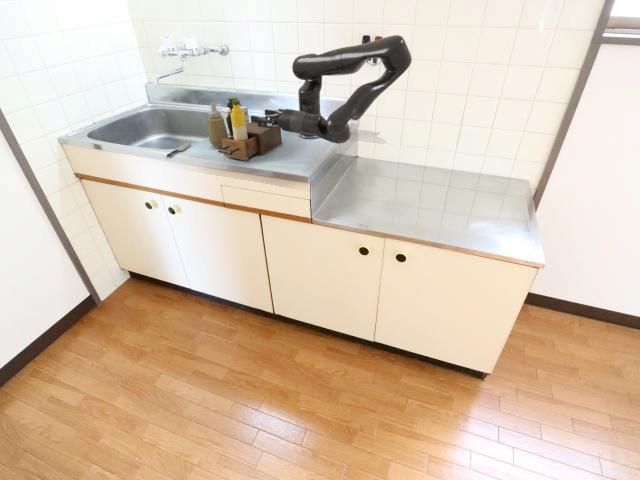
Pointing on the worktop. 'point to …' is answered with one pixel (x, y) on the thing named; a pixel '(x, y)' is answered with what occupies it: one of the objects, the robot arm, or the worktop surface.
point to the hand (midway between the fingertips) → (258, 115)
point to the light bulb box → (227, 111)
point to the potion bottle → (230, 115)
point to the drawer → (240, 147)
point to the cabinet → (265, 137)
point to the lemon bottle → (238, 122)
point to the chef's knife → (180, 148)
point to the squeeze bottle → (216, 127)
